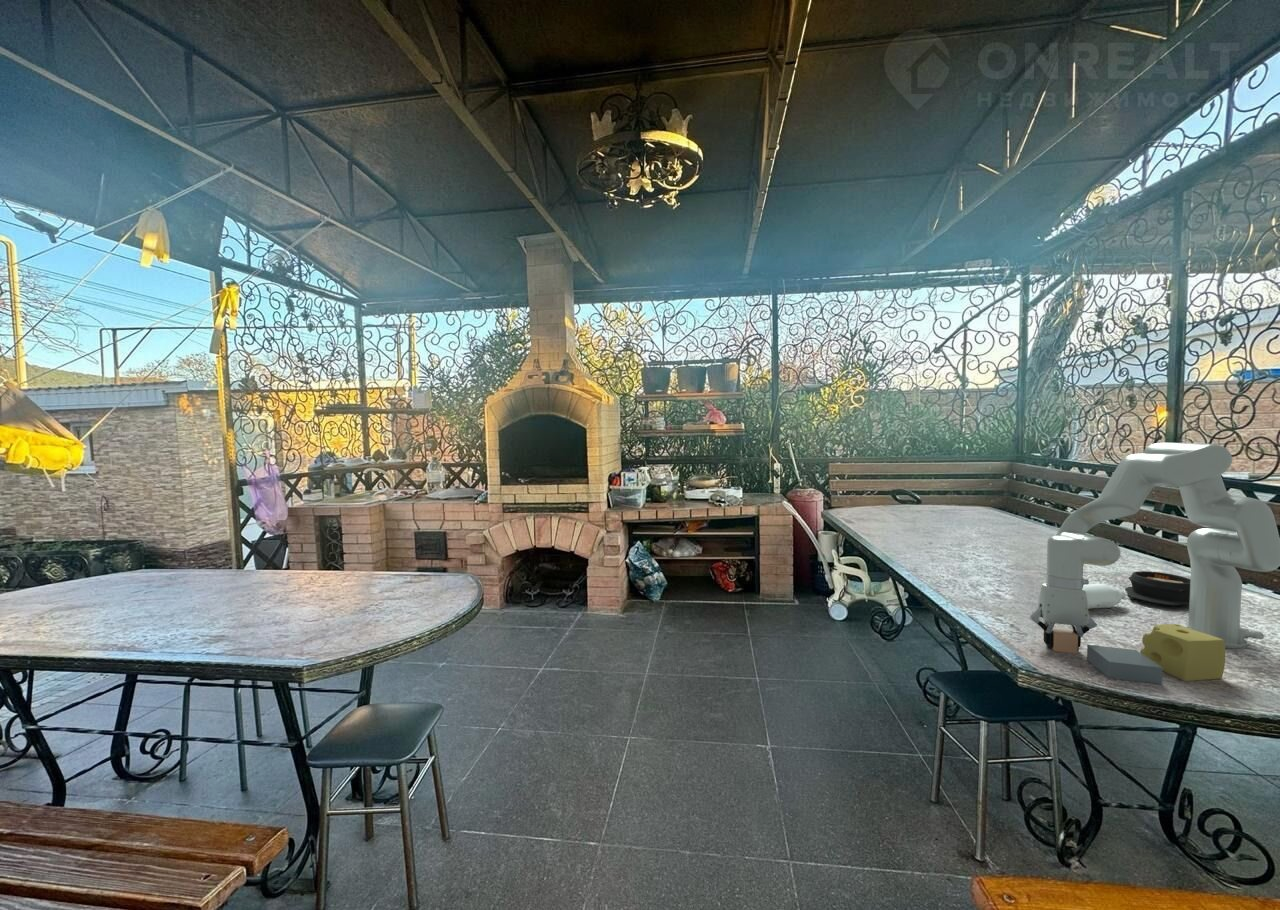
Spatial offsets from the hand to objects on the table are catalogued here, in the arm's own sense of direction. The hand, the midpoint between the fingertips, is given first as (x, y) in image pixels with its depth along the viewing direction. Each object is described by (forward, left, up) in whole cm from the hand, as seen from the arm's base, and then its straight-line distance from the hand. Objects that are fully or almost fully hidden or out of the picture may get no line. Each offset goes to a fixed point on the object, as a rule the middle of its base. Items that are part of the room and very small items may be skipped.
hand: (1061, 646), depth 136 cm
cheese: (-22, +6, -1) cm, 23 cm away
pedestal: (-8, +11, -1) cm, 14 cm away
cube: (0, 0, -1) cm, 1 cm away
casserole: (-51, -57, -1) cm, 76 cm away
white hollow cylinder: (-25, -42, -1) cm, 49 cm away
